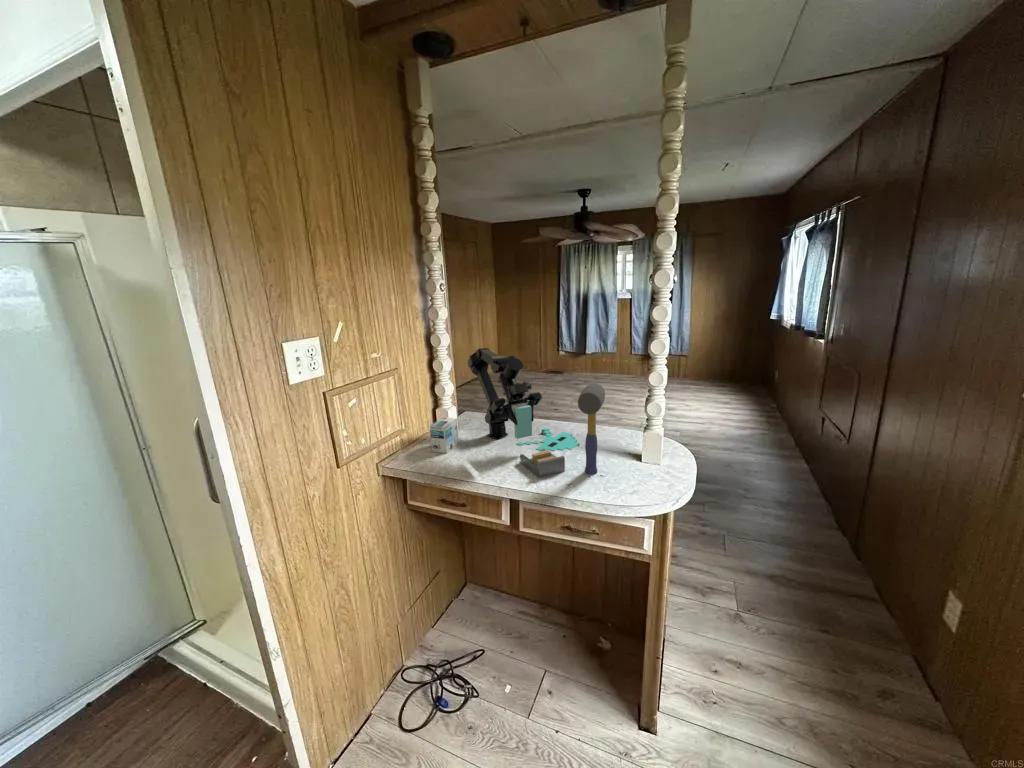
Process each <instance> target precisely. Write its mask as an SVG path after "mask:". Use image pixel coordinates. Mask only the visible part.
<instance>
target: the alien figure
mask: <svg viewBox="0 0 1024 768" xmlns="http://www.w3.org/2000/svg"><path fill="white" fill-rule="evenodd" d="M542 433H543V434H542ZM541 434H542V435H543V436H545V437H546V438H544V439H543V440H541V441H540V440H539V441H538V440H534V441H532V442H531V441H525V442H523V441H522V442H521V441H519V442H517V443H515V444H516V445H517V446H523V445H527V446H530V445H532V444H535V445H538V444H540V443H542V444H540V445H539V446H538V447H537V448H535V450H536V451H538V452H541V451H542V449H546V450H549V451H550V452H555V451H557V450H558V451H564V450H570V451H572V449H574V448H575V447H578V448H580V442H578V440H577V439H576V436H573V433H569V432H564V431H561V433H559V434H557V435H555V436H553V434H552V432H551V431H550V428H547V427H544V428H542V429H541Z"/></svg>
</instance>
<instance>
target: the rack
mask: <svg viewBox="0 0 1024 768" xmlns="http://www.w3.org/2000/svg"><path fill="white" fill-rule="evenodd" d="M545 450H546V449H542V451H545ZM551 456H554V457H555V458H553V459H549V460H545V461H541V462H537V465H536V464H535V463H534V462H532V457H531V458H529V457H527V456H526V455H525V454H523V453H521V454H519V457H520V458H519V459H520V460H519V461H518V463H519V464H521V465H522V466H523V467H524V468H525V469H527V470H528V471H529V472H530V473H532V474H533V475H534V476H535V478H537V479H541V478H545V477H549V476H552V475H556V474H560V473H564V472H566V467H565V465H566V461H565V459H566V458H565V456H564V455H560V456H556V455H555V454H553V453H551Z"/></svg>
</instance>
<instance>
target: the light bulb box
mask: <svg viewBox="0 0 1024 768" xmlns="http://www.w3.org/2000/svg"><path fill="white" fill-rule="evenodd" d="M429 430H430V440H431V452H434V453H441V454H448V453H449V452H450V451H452V450H453V449H455V447H456V446H457V445H458V444H459V443H460V441H459V425H458V418H457V417H446V416H442V417H441V418H439V419H437V420H436V421H435V422H433V423H432V424H430V425H429Z"/></svg>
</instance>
